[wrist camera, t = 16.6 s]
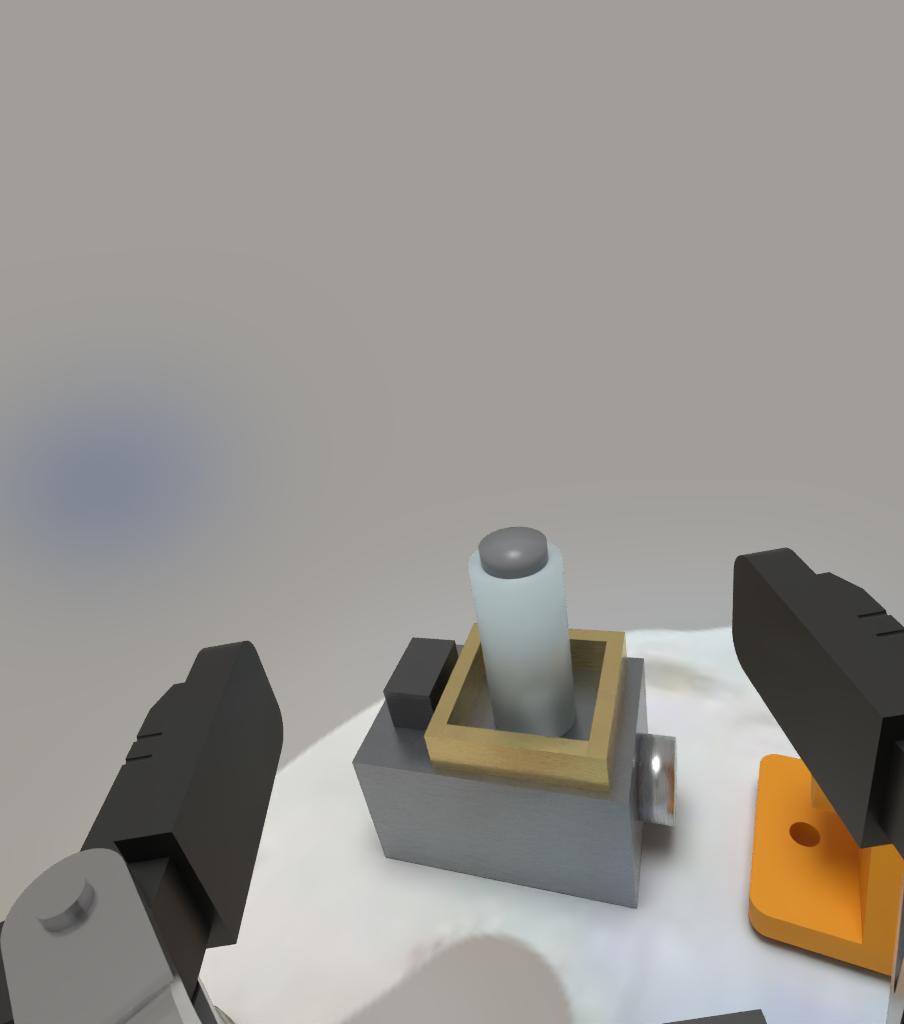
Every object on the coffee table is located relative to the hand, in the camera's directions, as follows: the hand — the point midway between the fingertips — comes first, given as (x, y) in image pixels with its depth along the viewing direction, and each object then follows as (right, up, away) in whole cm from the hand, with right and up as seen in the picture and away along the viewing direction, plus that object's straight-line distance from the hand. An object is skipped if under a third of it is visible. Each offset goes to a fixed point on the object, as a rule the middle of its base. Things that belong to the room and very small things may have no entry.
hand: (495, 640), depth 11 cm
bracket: (+21, -19, +27) cm, 39 cm away
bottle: (+4, -10, +29) cm, 31 cm away
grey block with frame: (+4, -18, +34) cm, 39 cm away
